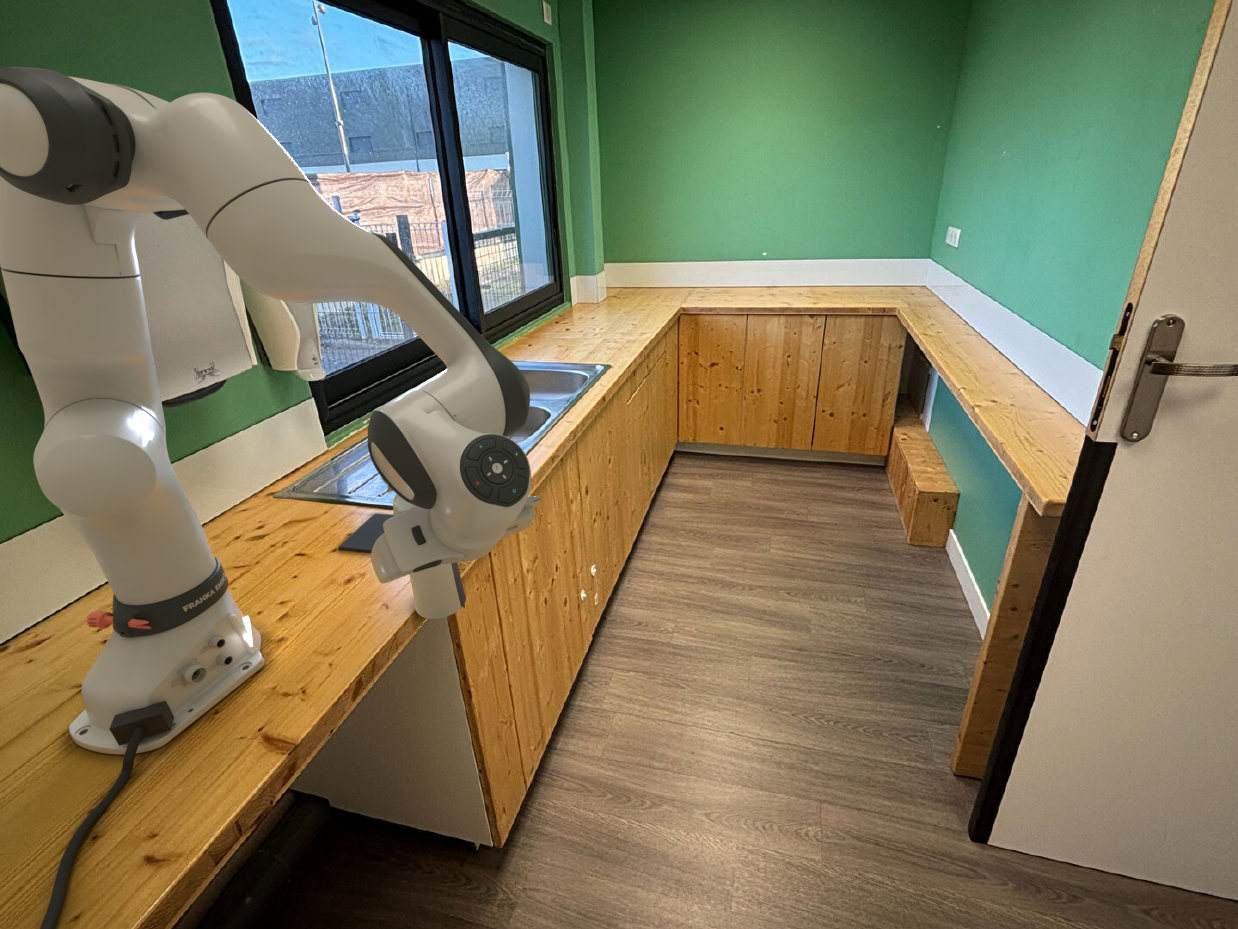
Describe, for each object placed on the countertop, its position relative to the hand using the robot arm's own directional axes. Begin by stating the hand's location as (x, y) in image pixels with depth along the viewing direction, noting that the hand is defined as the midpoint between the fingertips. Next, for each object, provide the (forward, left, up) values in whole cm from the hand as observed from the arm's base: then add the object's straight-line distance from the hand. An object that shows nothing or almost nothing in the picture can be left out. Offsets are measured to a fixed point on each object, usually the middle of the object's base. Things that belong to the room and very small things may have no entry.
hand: (447, 553), depth 81 cm
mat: (+23, +26, -14) cm, 38 cm away
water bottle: (+6, +6, -14) cm, 17 cm away
